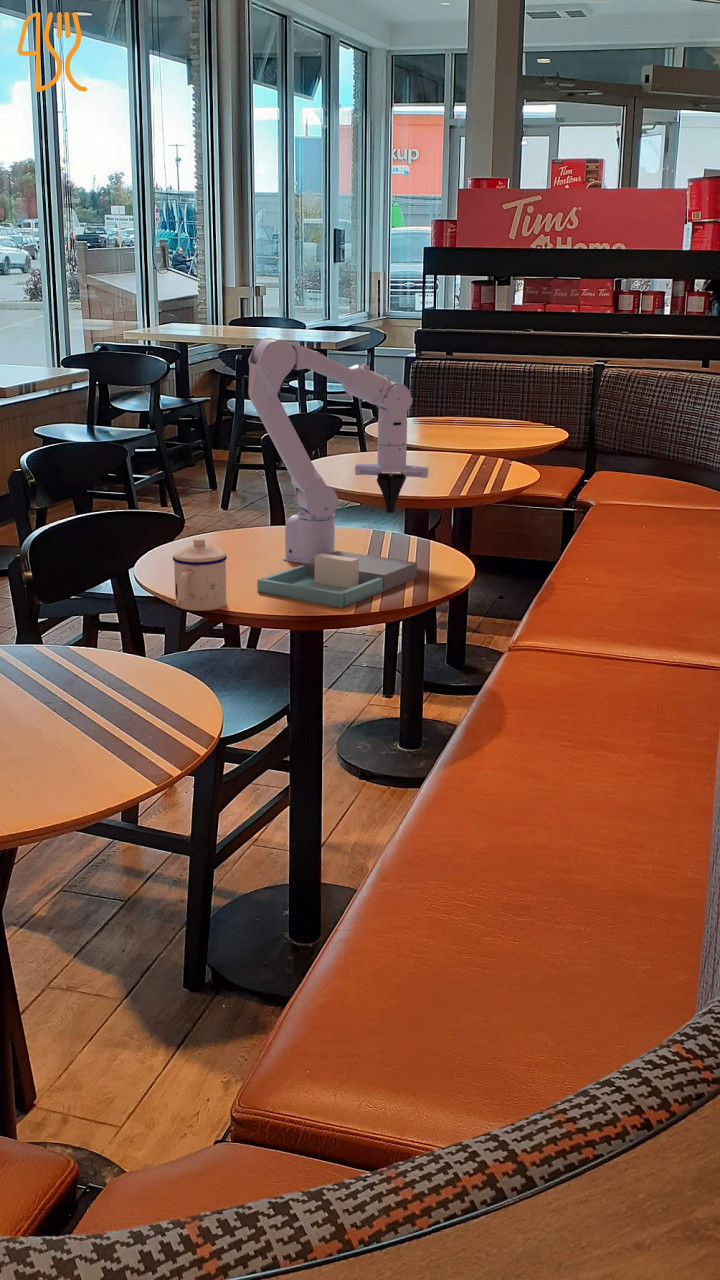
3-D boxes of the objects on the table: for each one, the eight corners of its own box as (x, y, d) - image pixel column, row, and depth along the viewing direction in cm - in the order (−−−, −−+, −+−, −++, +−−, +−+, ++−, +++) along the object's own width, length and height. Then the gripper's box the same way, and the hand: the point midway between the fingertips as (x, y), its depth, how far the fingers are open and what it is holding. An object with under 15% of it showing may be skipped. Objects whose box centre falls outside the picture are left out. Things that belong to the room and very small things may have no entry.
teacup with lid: (188, 597, 201) (185, 532, 198) (236, 601, 199) (234, 535, 195) (157, 614, 190) (154, 546, 187) (208, 619, 188) (206, 550, 184)
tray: (257, 593, 204) (257, 579, 203) (302, 577, 215) (302, 564, 214) (341, 608, 195) (341, 594, 194) (384, 591, 206) (384, 577, 205)
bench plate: (302, 577, 215) (302, 562, 214) (337, 565, 225) (337, 550, 224) (384, 591, 206) (384, 575, 205) (416, 578, 216) (417, 562, 215)
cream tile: (322, 579, 212) (314, 582, 210) (322, 553, 210) (314, 555, 208) (358, 585, 208) (351, 588, 206) (358, 558, 206) (351, 561, 204)
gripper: (352, 445, 223) (351, 513, 227) (425, 447, 220) (423, 517, 224) (359, 440, 230) (358, 507, 234) (430, 443, 227) (428, 510, 231)
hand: (390, 511), depth 229 cm, fingers closed
